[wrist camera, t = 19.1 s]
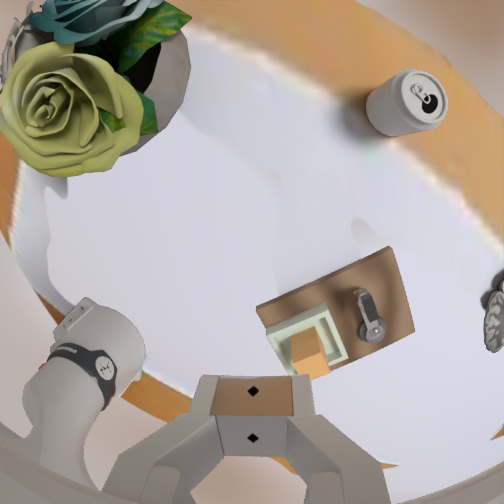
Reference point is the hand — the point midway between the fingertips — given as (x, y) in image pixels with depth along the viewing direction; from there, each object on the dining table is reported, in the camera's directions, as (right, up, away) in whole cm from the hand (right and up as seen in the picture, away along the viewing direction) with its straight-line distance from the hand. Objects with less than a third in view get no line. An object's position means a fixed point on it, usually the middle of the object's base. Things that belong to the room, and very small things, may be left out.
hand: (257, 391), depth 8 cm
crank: (+17, -5, +33) cm, 37 cm away
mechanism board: (+14, -7, +37) cm, 40 cm away
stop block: (+8, -10, +36) cm, 38 cm away
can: (+19, +24, +28) cm, 41 cm away
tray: (+8, -9, +36) cm, 38 cm away
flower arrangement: (-17, +27, +29) cm, 43 cm away
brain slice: (+51, -6, +34) cm, 62 cm away
